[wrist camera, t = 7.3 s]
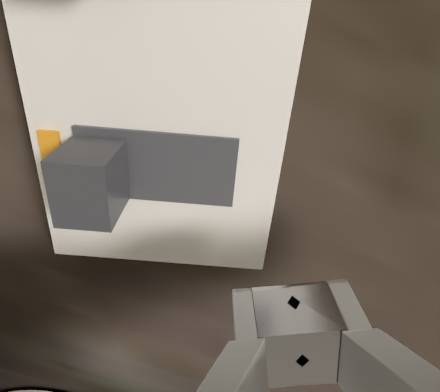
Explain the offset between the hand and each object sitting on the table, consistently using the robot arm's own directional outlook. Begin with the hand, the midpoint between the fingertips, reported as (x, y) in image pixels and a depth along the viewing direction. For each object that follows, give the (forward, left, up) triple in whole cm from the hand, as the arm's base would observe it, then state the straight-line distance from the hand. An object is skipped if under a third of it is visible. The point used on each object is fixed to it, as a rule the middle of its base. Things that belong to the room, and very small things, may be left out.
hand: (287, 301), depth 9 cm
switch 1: (+1, +7, -5) cm, 9 cm away
